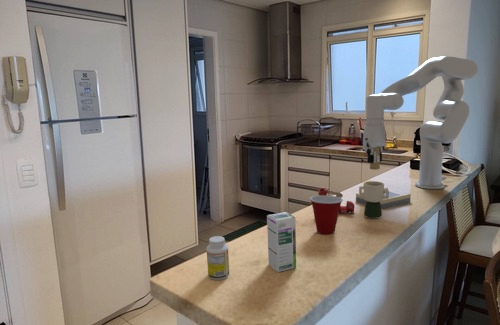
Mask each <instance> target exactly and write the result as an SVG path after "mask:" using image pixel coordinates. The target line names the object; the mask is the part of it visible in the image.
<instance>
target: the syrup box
mask: <svg viewBox="0 0 500 325" xmlns="http://www.w3.org/2000/svg"><path fill="white" fill-rule="evenodd" d="M266 226H267V227H266V228H267V229H266V230H267V254H268V255H267V256H268V258H267V261H268V265H270V267H271V268H272V269H273V270H274V271H276V272H277V273H280V272H284V271H288V270H292V269H296V268H297V235H296V233H297V232H296V226H297V225H296V216H295V215H293V214H291V213H289V212H287V211H284V212H278V213H273V214H267V215H266Z"/></svg>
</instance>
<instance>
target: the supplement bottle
mask: <svg viewBox="0 0 500 325" xmlns="http://www.w3.org/2000/svg"><path fill="white" fill-rule="evenodd" d="M208 239H209V240H208V245H207V246H206V259H207V260H206V263H207V276H208V277H209V278H210V279H211V280H214V281H222V280H225V279H227V278H228V277H229V276H230V262H229V261H230V259H229V246H228V245H227V243H226V240H225V237H223V236H220V235H217V236H216V235H214V236H212V237H210V238H208Z"/></svg>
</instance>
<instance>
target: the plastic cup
mask: <svg viewBox="0 0 500 325" xmlns="http://www.w3.org/2000/svg"><path fill="white" fill-rule="evenodd" d="M335 196H336V195H326V196H319V195H314V196H313V195H312V196H310V197H309V201H310V203H311V205H312V206H311V207H312V209H313V210H312V212H313V216H314V223H315V228H316V231H317V234H320V235H323V236H331V235H334V233H335V231H336V227H337V223H338V217H339V214H340V213H339V208H340V206H342V205H341V204H342V202H343V201H344V200H343V197H342V198H340V197H335ZM338 213H339V214H338Z"/></svg>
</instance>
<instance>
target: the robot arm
mask: <svg viewBox="0 0 500 325" xmlns="http://www.w3.org/2000/svg"><path fill="white" fill-rule="evenodd" d="M478 70H479V66H478V64H477V63H476V61H474V60H473V59H469V58H463V57H462V58H461V57H458V56H457V57H456V56H448V55H446V56H445V55H444V56H438V57H431V58H429V59H428V60H426V61H425V62H423V63H422V64H421V65H420V66H418V67H417V68H416V69H415V70H413V71H412V72H411V73H410V74H408V75H406V76H405V77H402V78H400V79H399V80H397V81H395V82H393V83H392V84H390V85H389V86H387V87H385V88H384V89H383V90H382V91H380V92H379V93H377V94H369V95H367V96H366V102H365V103H366V104H365V105H366V108H365V109H366V110H365V115H366V116H365V117H366V118H365V121H366V122H365V125H364V129H363V137H362V150H363V151H364V152H365V153H366V155H367V163H368V164H370V163H374V155H373V149H374V148H375V147H377V146H378V143H379V147H380V162H382V161H383V153H384V150H385V148H386V147H387V146H388V144H387V142H386V140H387V139H386V128H385V110H387V111H396V110H399V109H401V108H402V107H403V105H404V103H405V100H404V98H403V96H406V95H410V94H413V93H416V92H419V91H421V90H422V89H424V88H425V87H426V86H427V85H428V84H430V83H431V82H432V81H433V80H435V79H436V78H437V77H441V79H442V81H443V86H444V87H443V91H442V93H441V95H440V96H439V98H438V101H437V103H436V105H435V107H434V108H433V111H432V115H433V117H434V118H435V119H436V120H428V121H426V122H424V123H423V124H421V126H420V128H419V137H420V138H419V139H420V156H419V157H420V158H419V173H418V175H419V176H418V177H419V178H418V181H415V183H414V185H415V186H416V187H418V188H421V189H427V190H441V189H444V188H445V184H444V183H443V182H444V181H446V180H447V177H446V176H442V172H443V157H444V147H443V144H451V143H453V142H454V141H456V139H457V138H458V137H459V135H460V133H461V132H462V129H463V128H464V126H465V124H466V122H467V120H468V118H469V116H470V106H469V104H468V103H467V102H466V101H463V100H462V98H463V97H464V93H465V88H464V85H463V82H462V81H466V80H467V81H468V80H471V79H473V78H474V77H476V75H477V74H478ZM437 120H438V121H437ZM370 149H371V151H370Z"/></svg>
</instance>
